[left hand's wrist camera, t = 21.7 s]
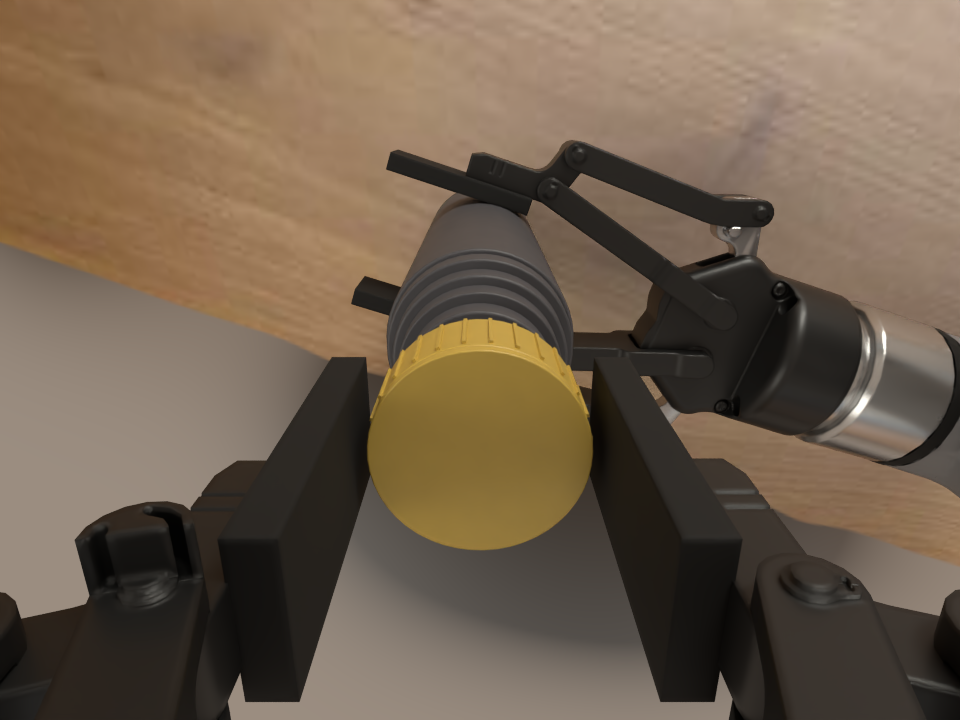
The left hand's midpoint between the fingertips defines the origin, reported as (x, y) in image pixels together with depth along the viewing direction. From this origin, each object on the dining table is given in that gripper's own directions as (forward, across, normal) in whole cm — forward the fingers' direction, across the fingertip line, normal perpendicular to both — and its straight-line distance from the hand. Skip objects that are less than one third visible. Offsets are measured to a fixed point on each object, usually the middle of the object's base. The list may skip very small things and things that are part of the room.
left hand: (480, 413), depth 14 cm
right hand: (+17, -5, +2) cm, 18 cm away
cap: (-2, 0, 0) cm, 2 cm away
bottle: (+24, 0, 0) cm, 24 cm away
